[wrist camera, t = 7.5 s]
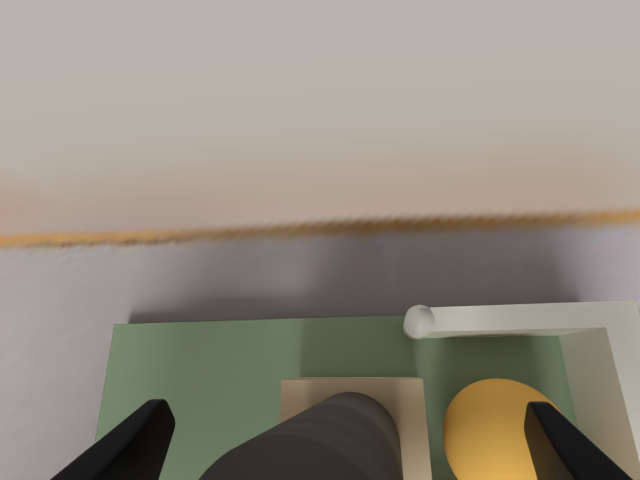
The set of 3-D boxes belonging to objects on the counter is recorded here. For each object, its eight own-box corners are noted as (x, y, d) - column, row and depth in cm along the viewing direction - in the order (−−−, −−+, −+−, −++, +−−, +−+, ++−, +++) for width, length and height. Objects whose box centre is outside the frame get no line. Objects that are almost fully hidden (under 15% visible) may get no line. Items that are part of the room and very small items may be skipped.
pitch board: (644, 575, 13) (663, 592, 12) (96, 532, 16) (78, 543, 16) (582, 312, 16) (594, 308, 15) (127, 326, 19) (114, 324, 18)
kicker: (428, 493, 14) (525, 854, 4) (296, 486, 14) (77, 764, 4) (418, 377, 15) (470, 405, 5) (297, 377, 16) (128, 401, 6)
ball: (558, 525, 9) (412, 488, 11) (608, 547, 11) (474, 510, 13) (546, 359, 11) (426, 361, 14) (590, 403, 13) (477, 396, 16)
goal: (645, 587, 12) (740, 671, 9) (421, 568, 13) (430, 635, 10) (581, 311, 15) (634, 297, 11) (401, 317, 16) (403, 305, 13)
